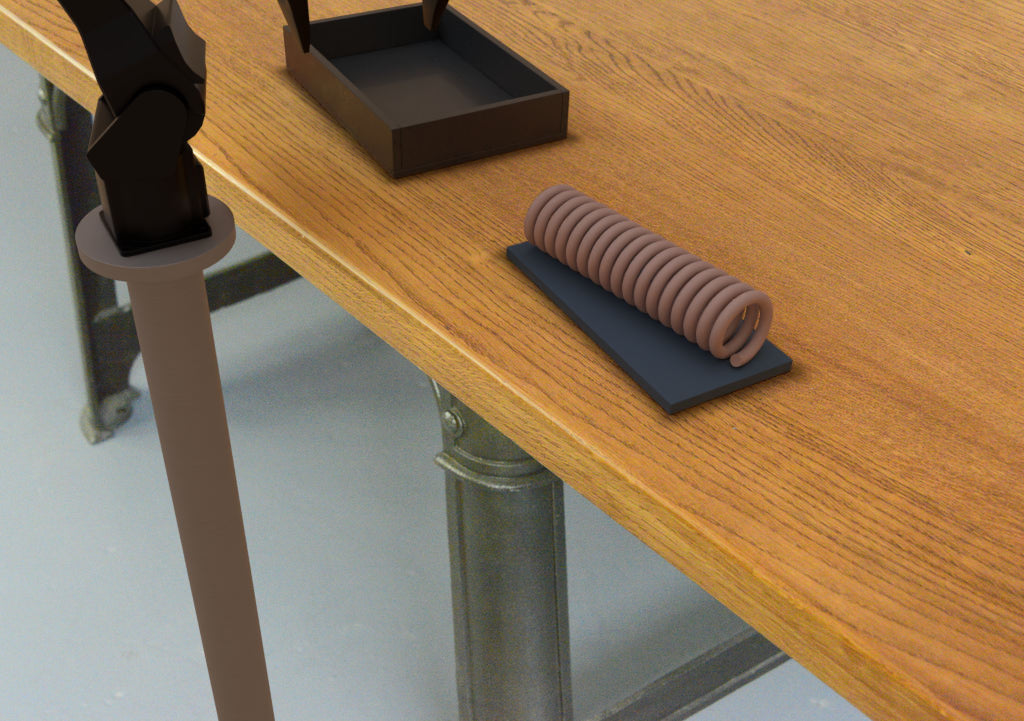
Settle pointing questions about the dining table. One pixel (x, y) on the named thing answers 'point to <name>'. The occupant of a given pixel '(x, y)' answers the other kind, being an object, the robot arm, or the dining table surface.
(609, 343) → the pad
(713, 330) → the coil
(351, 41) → the dark brown tray
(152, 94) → the robot arm
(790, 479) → the dining table surface
